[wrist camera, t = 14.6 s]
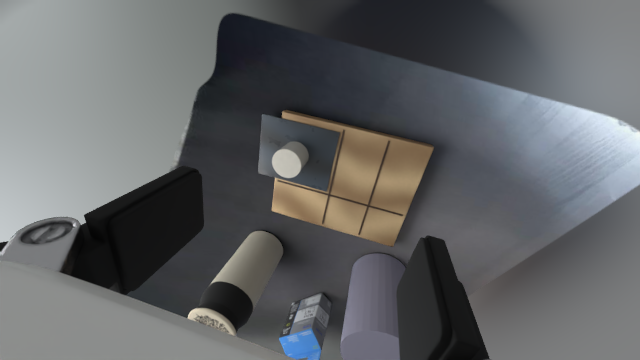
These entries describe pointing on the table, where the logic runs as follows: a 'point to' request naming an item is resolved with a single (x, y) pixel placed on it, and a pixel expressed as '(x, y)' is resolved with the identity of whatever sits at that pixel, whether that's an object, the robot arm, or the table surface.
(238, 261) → the travel mug
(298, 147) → the white squat cylinder
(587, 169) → the table surface
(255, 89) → the table surface
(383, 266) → the container
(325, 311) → the blue product box
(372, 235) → the board
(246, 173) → the table surface
